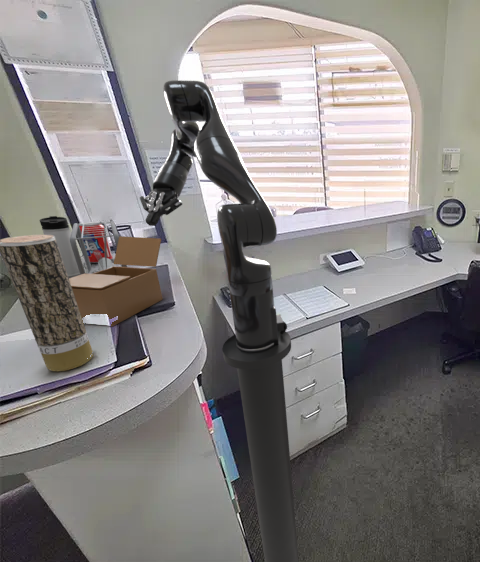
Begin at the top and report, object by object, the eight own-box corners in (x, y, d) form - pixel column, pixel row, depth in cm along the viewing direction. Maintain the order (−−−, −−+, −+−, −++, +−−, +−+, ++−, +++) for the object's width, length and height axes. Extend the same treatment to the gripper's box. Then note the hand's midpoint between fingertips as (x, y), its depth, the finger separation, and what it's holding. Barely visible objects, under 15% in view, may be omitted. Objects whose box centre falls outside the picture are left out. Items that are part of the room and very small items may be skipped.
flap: (113, 264, 88) (114, 264, 88) (155, 266, 87) (156, 266, 87) (119, 236, 89) (120, 236, 89) (160, 238, 88) (161, 238, 88)
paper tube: (84, 349, 65) (44, 233, 57) (101, 358, 63) (62, 237, 54) (40, 366, 60) (-12, 239, 51) (57, 377, 57) (6, 245, 48)
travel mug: (83, 272, 109) (66, 215, 102) (84, 277, 105) (66, 218, 98) (59, 275, 105) (39, 216, 98) (58, 281, 101) (37, 219, 94)
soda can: (118, 259, 124) (108, 222, 119) (98, 265, 117) (86, 225, 112) (103, 257, 126) (92, 221, 121) (81, 263, 119) (69, 224, 114)
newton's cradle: (88, 272, 110) (73, 222, 103) (125, 267, 116) (113, 219, 110) (88, 300, 88) (68, 238, 82) (133, 291, 95) (118, 234, 89)
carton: (122, 296, 91) (113, 263, 88) (163, 299, 90) (155, 266, 87) (63, 322, 76) (50, 284, 72) (112, 326, 75) (100, 288, 71)
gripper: (197, 188, 102) (178, 232, 95) (159, 187, 103) (138, 230, 96) (183, 171, 95) (162, 217, 88) (143, 170, 96) (119, 215, 89)
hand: (150, 224), depth 92 cm, fingers closed
